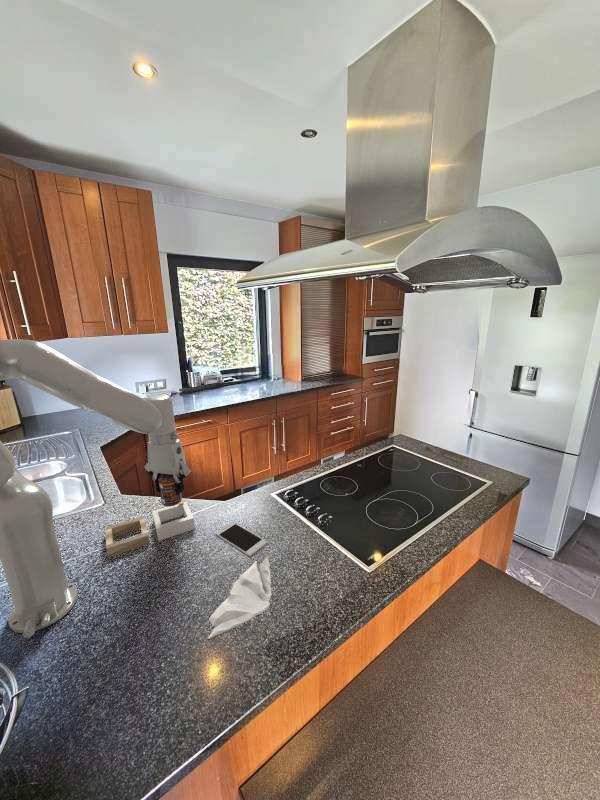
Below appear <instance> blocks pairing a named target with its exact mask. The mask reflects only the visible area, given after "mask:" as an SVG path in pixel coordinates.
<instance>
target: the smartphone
mask: <svg viewBox="0 0 600 800" xmlns="http://www.w3.org/2000/svg"><path fill="white" fill-rule="evenodd" d="M215 536H217V538H220V539H221V540H223V541H224V542H226V543H228V544H229V545H230V546H232V547H234V548H235V549H236V550H238V551H240V552H241V553H243V554H245V555H246V556H247V557H250V558H251V557H252V556H253V555H254V554H256V553H257V552H259V551H260V550H261V549H263V548H264V547H265V546H267V544H268V541H267V540H265V539H264V538H262V537H260V536H259V535H257V534H256V533H253V532H251V531H250V530H248V529H246V528H245V527H243V526H241V525H240V524H237V523H235V522H234V521H233V522H230V523H229V524H227V525H225V526H224V527H223V528H221V529H219V530H218V531H216V532H215Z"/></svg>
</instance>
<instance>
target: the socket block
mask: <svg viewBox="0 0 600 800" xmlns="http://www.w3.org/2000/svg"><path fill="white" fill-rule="evenodd" d="M151 512H152V513H151V514H152V519H153V525H154V528H155V534H156V536H157V537H156V538H157V540H158V542H160V541H163V540H166V539H169V538H172V537H175V536H177V535H181V534H184V533H187V532H190V531H193V530H196V526H195V518H194V516H193V514H192V511H191V509H190V507H189V505H188V503H187V501H184V500H181V502H180V503H179V504H177V505H175V506H170V507H167V506H164V507H161V508H158V509H154V510H152V511H151ZM182 515H183V516H182ZM179 516H180V517H183V518H180V517H179ZM176 517H177V518H180V519H177V518H176ZM184 517H185V518H184ZM173 518H174V519H177V520H173ZM169 519H170V520H173V521H170V520H169ZM166 520H167V521H170V522H167V521H166ZM163 521H164V522H166V523H164V522H163ZM162 523H164V524H162Z"/></svg>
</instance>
